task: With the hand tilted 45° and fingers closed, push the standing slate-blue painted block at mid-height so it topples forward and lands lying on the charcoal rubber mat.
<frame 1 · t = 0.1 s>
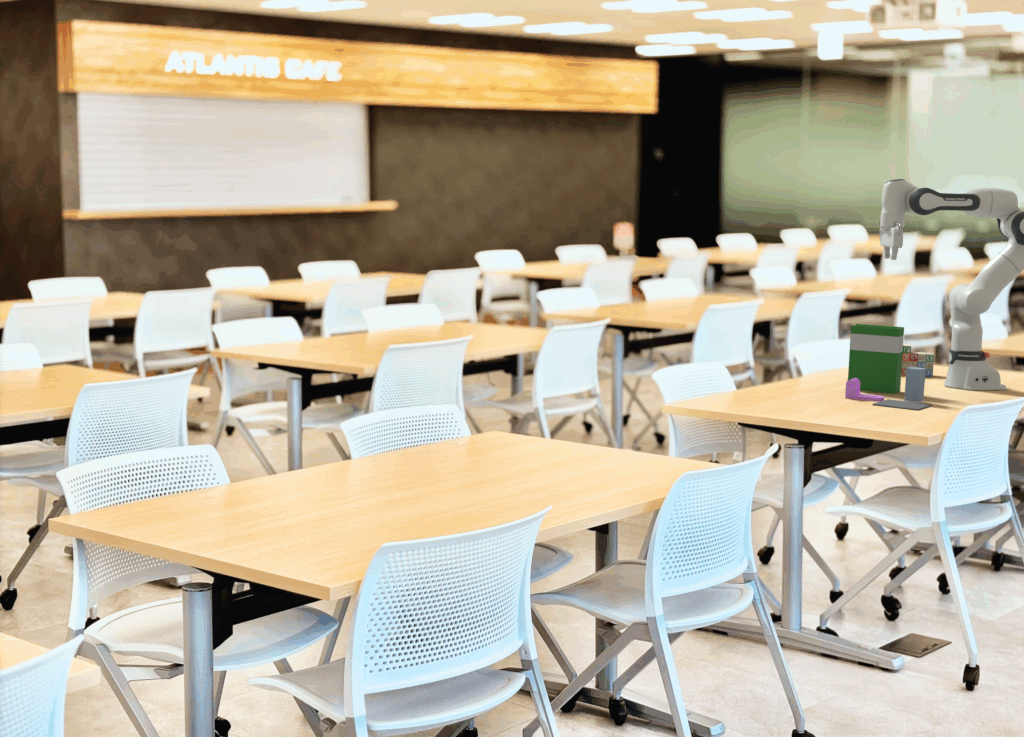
hand: (890, 259, 500), 48 cm above the table, tool pointing down, fingers open, 8 cm apart
bracket: (865, 400, 470), on the table
slate block: (913, 401, 466), on the table
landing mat: (902, 405, 458), on the table
stack of blocks: (905, 375, 537), on the table
hardback book: (873, 391, 491), on the table
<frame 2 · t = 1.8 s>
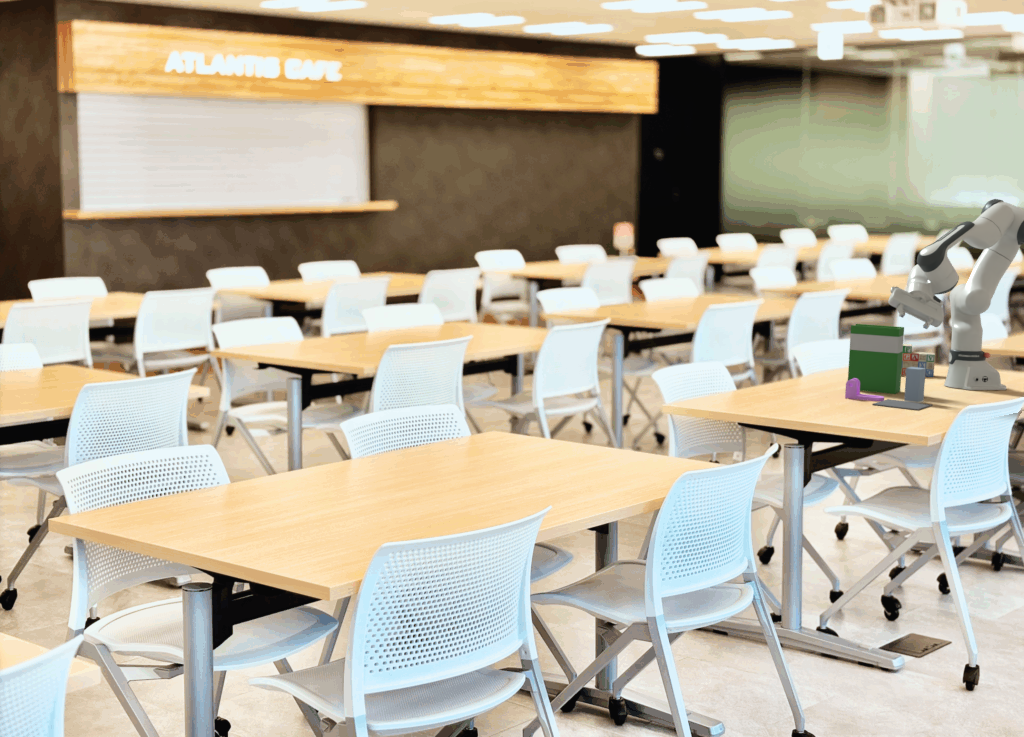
hand: (914, 321, 466), 28 cm above the table, tool tilted 55°, fingers open, 8 cm apart
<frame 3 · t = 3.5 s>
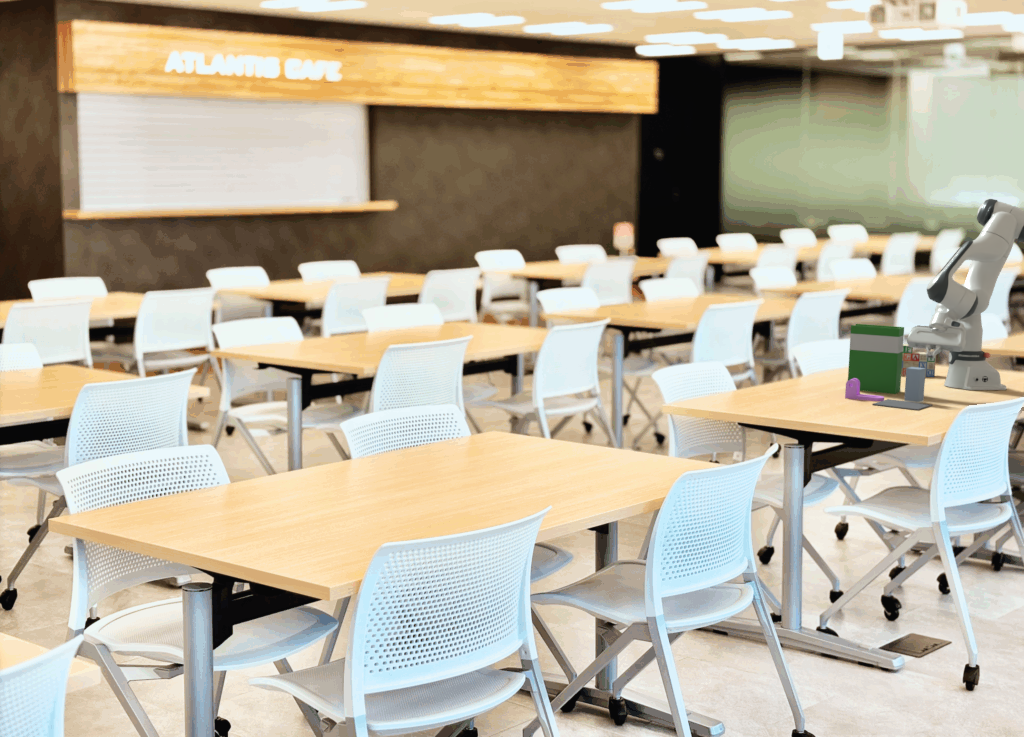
hand: (930, 356, 473), 15 cm above the table, tool tilted 45°, fingers closed
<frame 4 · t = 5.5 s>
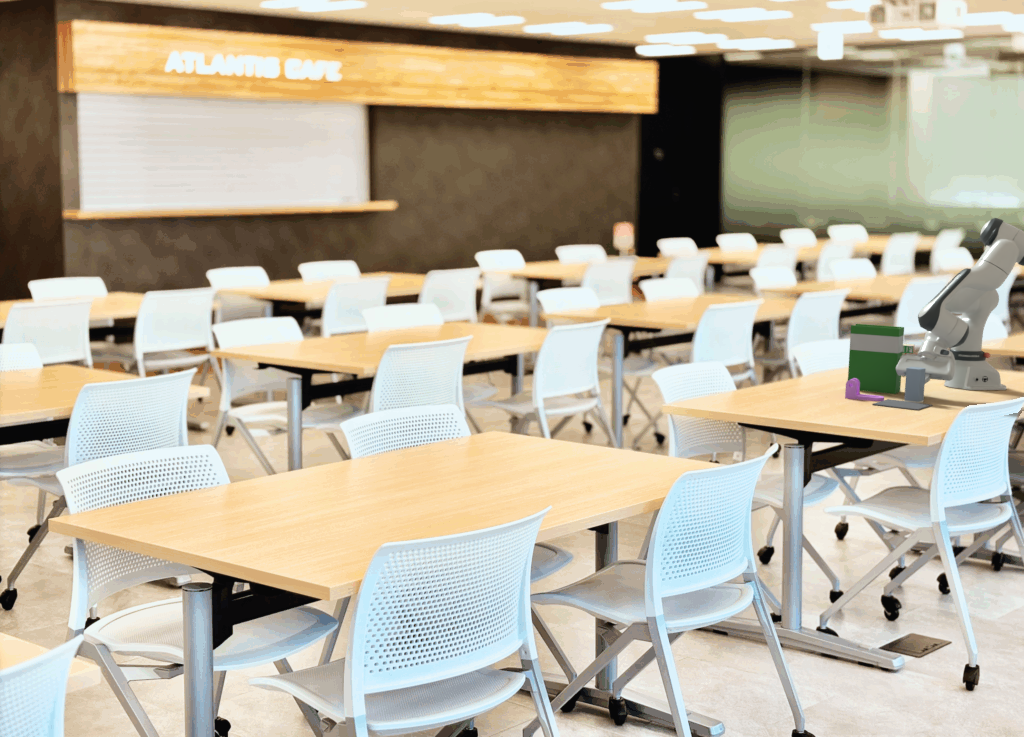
hand: (919, 385, 467), 5 cm above the table, tool tilted 45°, fingers closed, pressing on slate block
slate block: (913, 401, 466), on the table, touching gripper
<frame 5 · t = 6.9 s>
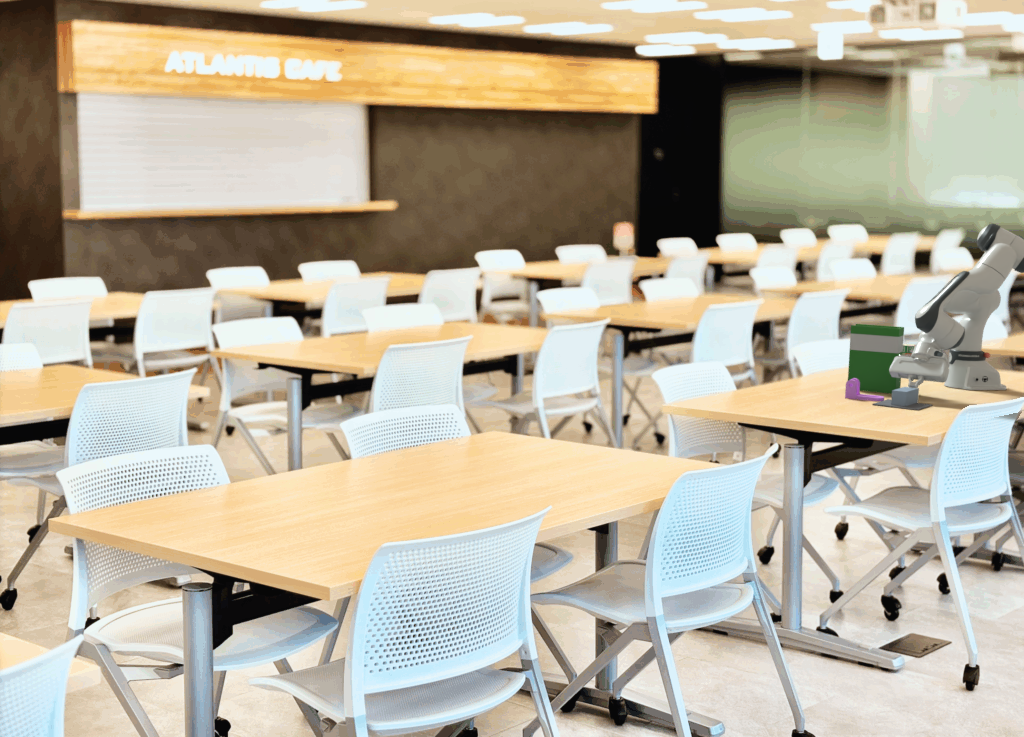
hand: (912, 387, 463), 5 cm above the table, tool tilted 45°, fingers closed, pressing on slate block
slate block: (911, 394, 463), point 3 cm above the table, tilted 90°, touching gripper, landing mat
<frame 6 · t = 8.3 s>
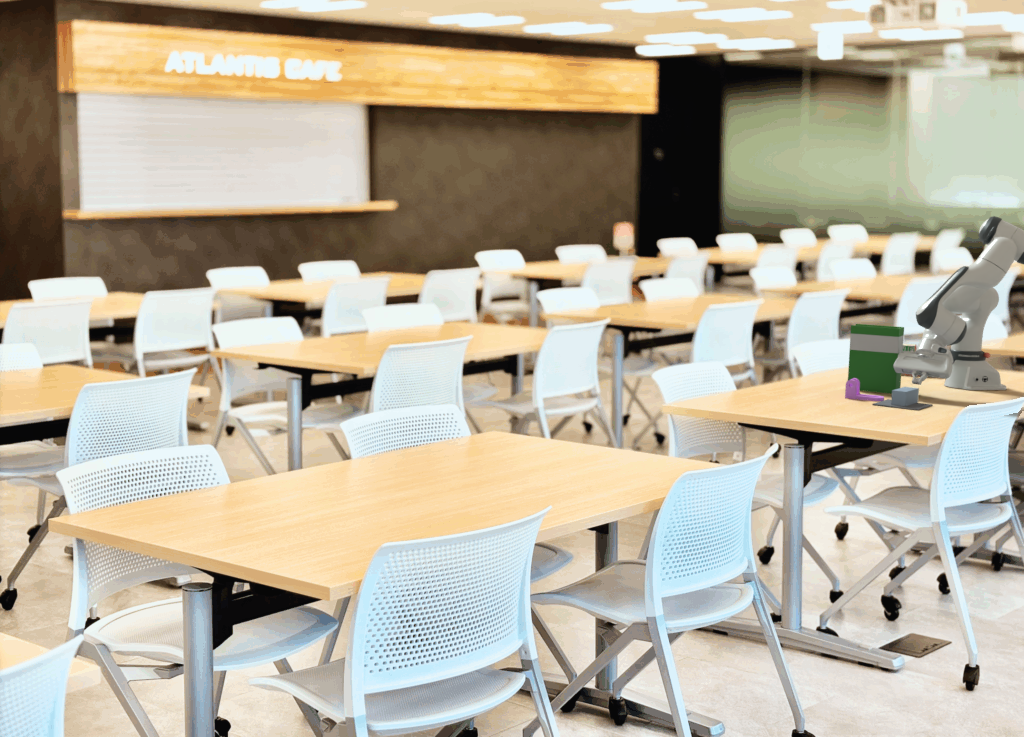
hand: (916, 383, 469), 6 cm above the table, tool tilted 45°, fingers closed
slate block: (911, 394, 463), point 3 cm above the table, tilted 90°, touching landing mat
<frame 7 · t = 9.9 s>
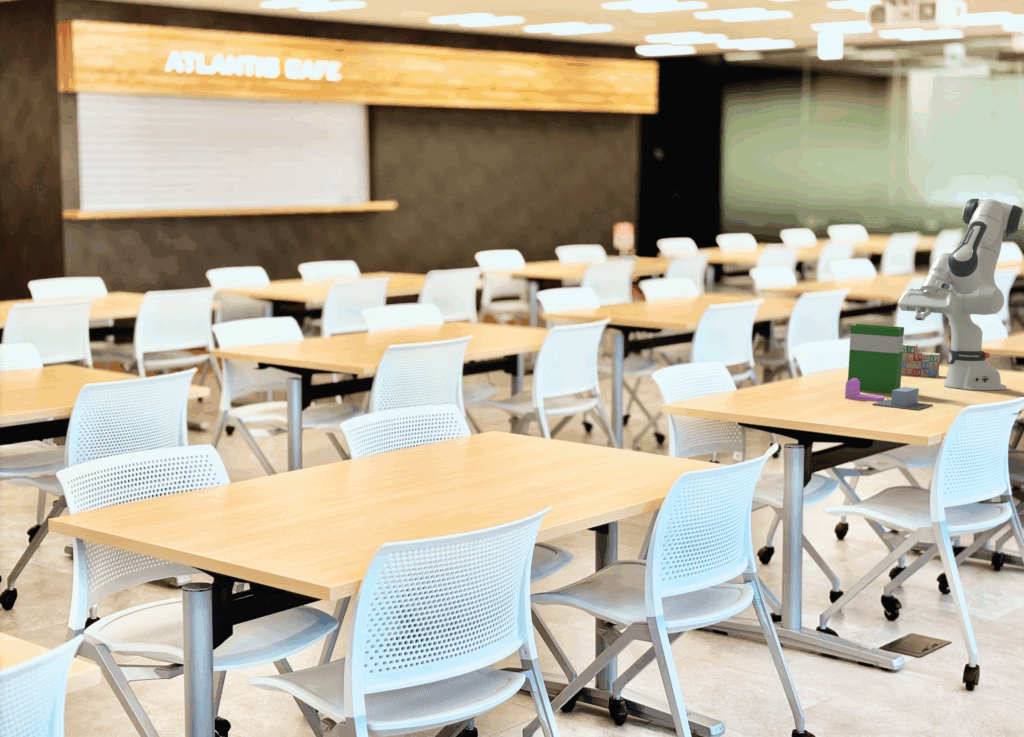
hand: (919, 319, 473), 28 cm above the table, tool tilted 45°, fingers closed
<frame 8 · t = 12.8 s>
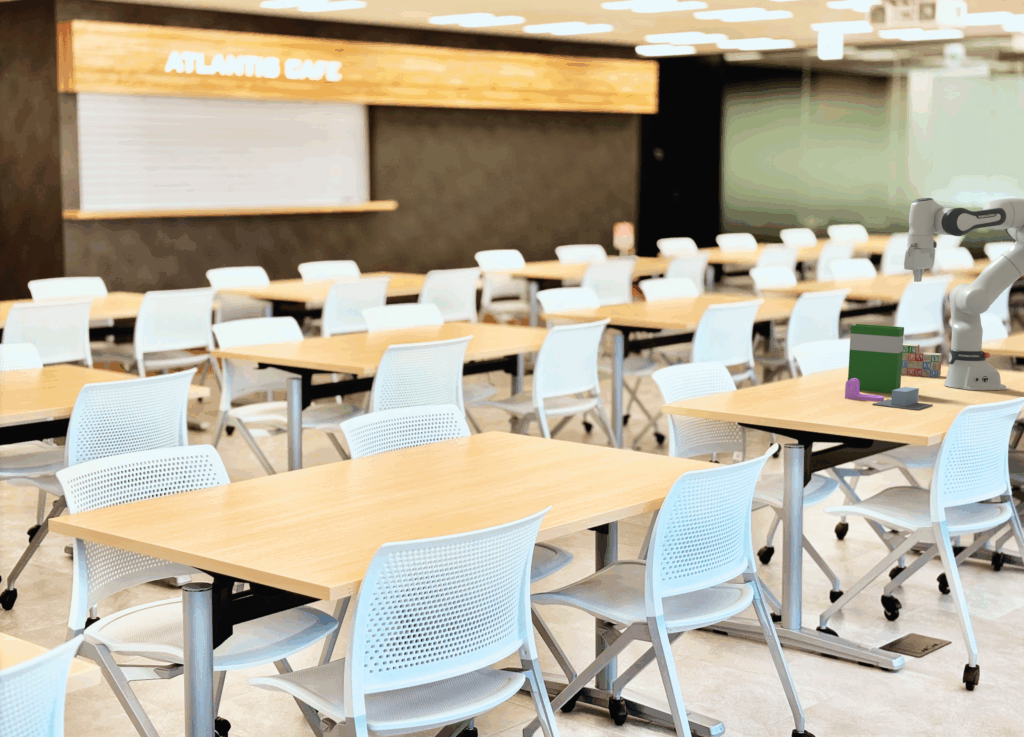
hand: (917, 281, 479), 41 cm above the table, tool pointing down, fingers closed
at the end: slate block tilted 90°; slate block 8.0 cm from the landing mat (horizontally) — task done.
